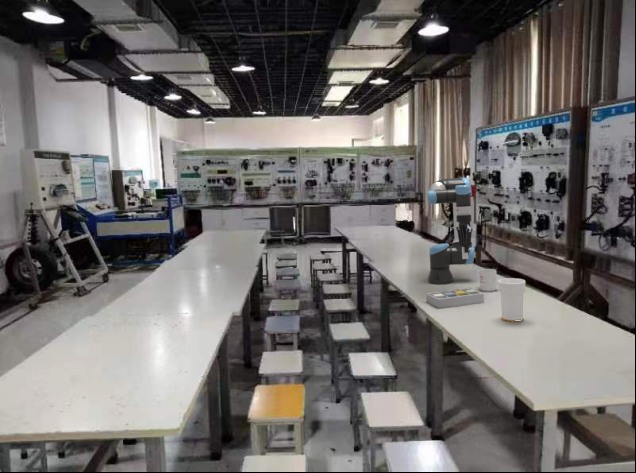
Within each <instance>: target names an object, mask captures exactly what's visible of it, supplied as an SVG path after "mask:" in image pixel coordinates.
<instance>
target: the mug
mask: <svg viewBox="0 0 636 473" xmlns="http://www.w3.org/2000/svg"><path fill="white" fill-rule="evenodd" d="M476 272H477V282H478V283H479V289H480V290H481V291H482V292H487V293H488V292H495V291H496V290H497V289H498V287H497V286H498V280H497V269H493V268H483V269H479V271H476Z"/></svg>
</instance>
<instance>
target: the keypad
mask: <svg viewBox="0 0 636 473" xmlns="http://www.w3.org/2000/svg"><path fill="white" fill-rule="evenodd" d="M471 289H472V290H475V289H473V288H470V287H467V288H458V289H452V290H450V289H449V290H444V291H443V290H442V291H435V292H428V293H426V294H425V297H426V298H425V299H426V303H427V304H429V305H431V306H432V307H435V308H437V309H445V308H452V307H458V306H460V307H461V306H469V305H475V304H482V303H483V304H484V303H485V298H484V296H485V293H483V292H481V291H477V290H475V291H476V294H469V293H467V292H466V295H463V296H460V295H457V294H455V293H454V292H456V291H463V292H464V290H471ZM448 292H452V293H454V294H455V297H448V296H446V295H444V294H443V293H448ZM433 294H442V295H444V298H440V299H438V298H436V297H434V296H432V295H433Z"/></svg>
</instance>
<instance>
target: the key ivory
mask: <svg viewBox="0 0 636 473" xmlns="http://www.w3.org/2000/svg"><path fill="white" fill-rule="evenodd" d="M432 296H434V297H436V298H438V299H440V298H444V295H442V294H433V295H432Z"/></svg>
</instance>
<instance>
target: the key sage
mask: <svg viewBox="0 0 636 473" xmlns="http://www.w3.org/2000/svg"><path fill="white" fill-rule="evenodd" d="M472 289H473V288H471V290H464V292H467V293H469V294H476V291H477V290H476V291H475V289H473V290H472Z"/></svg>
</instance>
